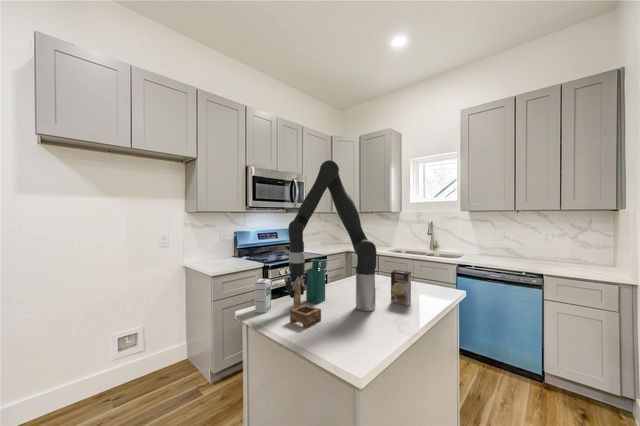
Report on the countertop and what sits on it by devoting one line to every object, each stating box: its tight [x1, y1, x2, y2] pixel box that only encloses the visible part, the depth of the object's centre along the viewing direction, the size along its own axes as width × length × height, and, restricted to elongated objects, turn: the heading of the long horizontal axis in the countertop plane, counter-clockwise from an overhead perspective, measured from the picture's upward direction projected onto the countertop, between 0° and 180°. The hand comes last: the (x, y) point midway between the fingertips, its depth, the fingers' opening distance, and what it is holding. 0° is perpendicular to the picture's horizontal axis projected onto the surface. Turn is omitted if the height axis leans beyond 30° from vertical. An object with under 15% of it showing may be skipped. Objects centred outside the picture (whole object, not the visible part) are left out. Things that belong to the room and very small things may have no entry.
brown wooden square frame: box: [289, 304, 322, 329], centre depth 114 cm, size 9×9×5 cm
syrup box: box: [254, 278, 272, 313], centre depth 128 cm, size 6×6×14 cm
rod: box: [292, 276, 302, 309], centre depth 128 cm, size 3×3×16 cm
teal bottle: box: [305, 258, 328, 304], centre depth 141 cm, size 10×8×22 cm
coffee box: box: [390, 269, 412, 306], centre depth 138 cm, size 9×6×16 cm
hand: (296, 295), depth 128 cm, fingers open, 5 cm apart
